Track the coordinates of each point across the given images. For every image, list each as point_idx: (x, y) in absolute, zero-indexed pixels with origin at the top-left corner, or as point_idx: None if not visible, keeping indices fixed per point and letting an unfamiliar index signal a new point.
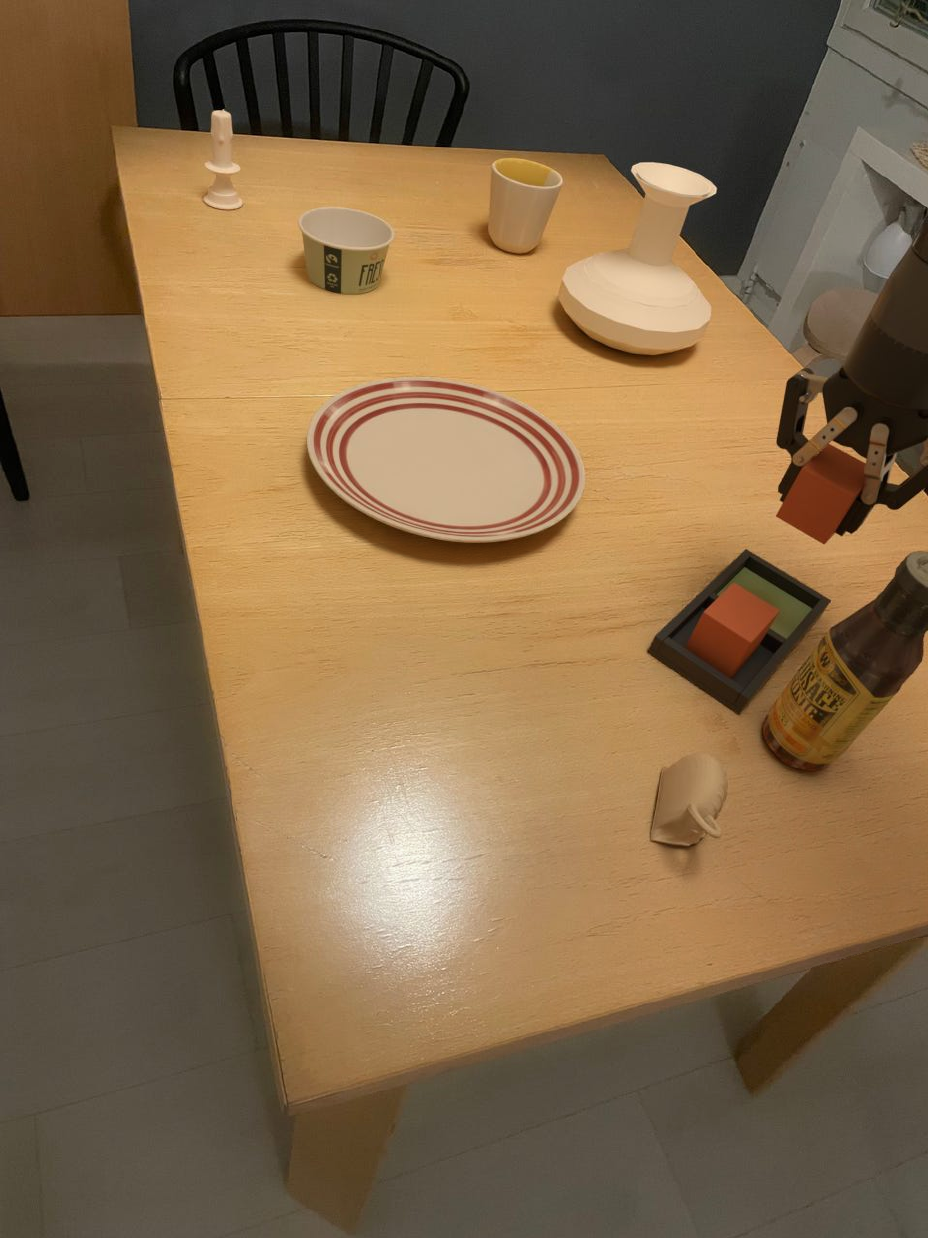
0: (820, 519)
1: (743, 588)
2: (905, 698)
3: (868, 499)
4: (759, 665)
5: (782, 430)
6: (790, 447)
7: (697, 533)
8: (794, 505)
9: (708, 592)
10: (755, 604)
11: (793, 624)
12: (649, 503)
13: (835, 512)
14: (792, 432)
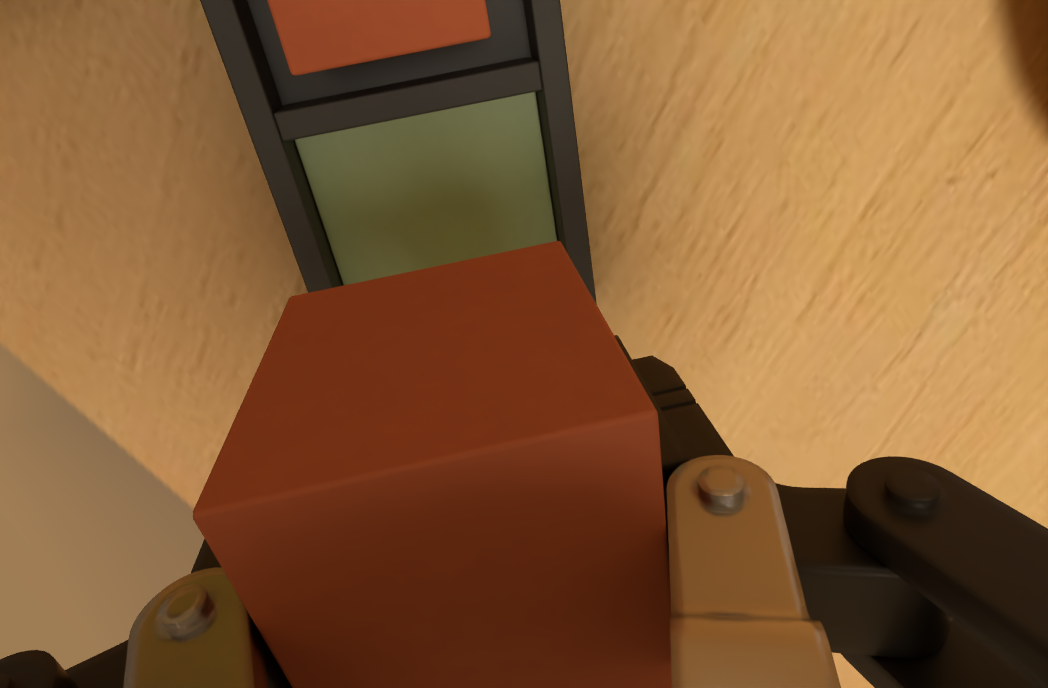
0: (355, 329)
1: (447, 45)
2: (28, 328)
3: (176, 599)
4: (268, 10)
5: (1018, 541)
6: (830, 514)
7: (717, 303)
8: (520, 293)
9: (550, 73)
10: (359, 5)
11: (346, 250)
12: (860, 274)
13: (287, 386)
14: (962, 581)
